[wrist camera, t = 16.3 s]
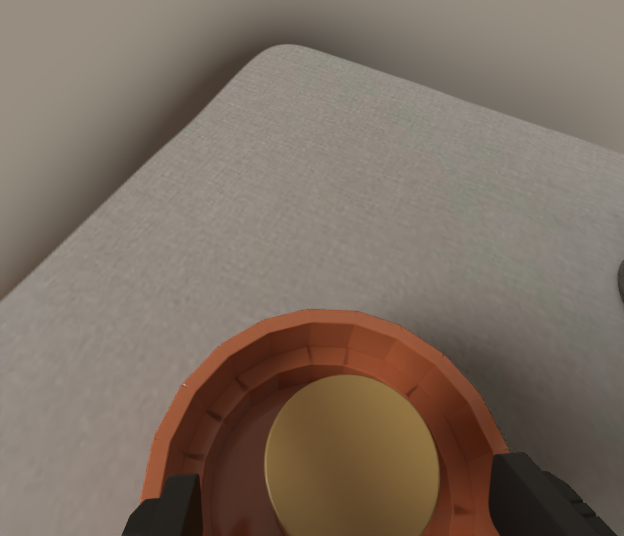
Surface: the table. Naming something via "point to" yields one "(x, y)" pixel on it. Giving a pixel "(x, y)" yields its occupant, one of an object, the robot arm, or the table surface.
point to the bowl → (288, 381)
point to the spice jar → (351, 462)
